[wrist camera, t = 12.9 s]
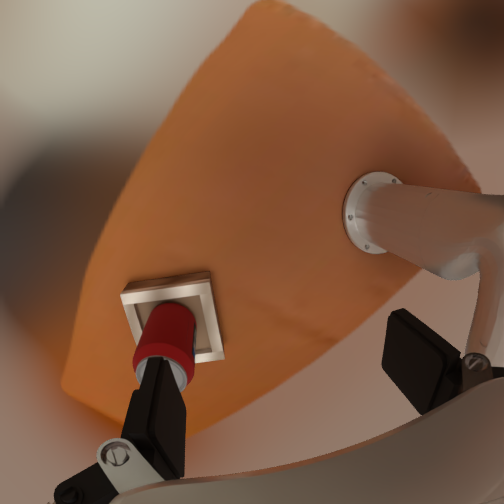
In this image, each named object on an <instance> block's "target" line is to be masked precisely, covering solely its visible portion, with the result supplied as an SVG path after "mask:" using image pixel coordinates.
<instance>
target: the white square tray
mask: <svg viewBox="0 0 504 504" xmlns="http://www.w3.org/2000/svg"><path fill="white" fill-rule="evenodd" d="M120 296H121V299H122V303H123V306H124V309H125V312H126V316H127V319H128V322H129V325H130V328H131V331H132V334H133V336H134V339H135V342H136V345H138V342H139V340H140V337H141V335H142V332H143V329H144V327H145V324H146V322H147V320H148V317H149V315H150V313H151V312H152V310H153V309H154V308H155V307H157V306H159V305H161V304H164V303H176V304H179V305H182V306H184V307H185V308H187V309H188V310H189V311H190V312H191V313H192V314H193V316H194V317H195V320H196V323H197V333H196V353H195V363H200V362H208V361H215V360H222V359H225V356H224V346H223V340H222V335H221V330H220V325H219V320H218V314H217V309H216V304H215V299H214V293H213V288H212V282H211V277H210V271H207V272H200V273H194V274H187V275H180V276H173V277H166V278H160V279H153V280H146V281H139V282H132V283H128V284H127V286H126V287H125V288H124V290H123V291H122V293H121V294H120Z"/></svg>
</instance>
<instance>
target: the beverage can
mask: <svg viewBox="0 0 504 504" xmlns="http://www.w3.org/2000/svg"><path fill="white" fill-rule="evenodd" d="M196 333H197V323H196V320H195V317H194V316H193V314H192V313H191V312H190V311H189V310H188V309H187V308H185V307H184V306H182V305H179V304H176V303H164V304H161V305H159V306H157V307H155V308H154V309H153V310H152V312H151V313H150V315H149V317H148V320H147V322H146V324H145V327H144V329H143V332H142V335H141V337H140V340H139V342H138V345H137V348H136V351H135V354H134V357H133V368H134V371H135V373H136V378H137V380H138V382H139V384H140V385H141V381H142V377H143V374H144V370H145V367H146V363H147V360H148V358H149V357H160V356H162V357H163V358H164V360H168V361H169V363H170V366H171V369H172V372H173V374H174V377H175V380H176V383H177V385H178V388H179V391H180V392H182V391H183V390H184V388H185V387H186V386H187V385H188V384H189V383H190V382H191V380H192V378H193V376H194V368H195V353H196Z"/></svg>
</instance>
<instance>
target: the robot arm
mask: <svg viewBox="0 0 504 504" xmlns="http://www.w3.org/2000/svg"><path fill="white" fill-rule="evenodd" d="M362 181H363V184H362ZM348 215H349V217H348ZM343 223H344V228H345V230H346V233H347V235H348V237H349V239H350V240H351V242H352V243H353V244H354V245H355V246H356V247H358V248H359V249H361V250H363V251H364V252H367V253H371V254H381V253H385V252H388V251H389V252H391V253H393V254H395V255H397V256H399V257H401V258H403V259H405V260H407V261H409V262H411V263H413V264H415V265H417V266H419V267H421V268H423V269H425V270H427V271H429V272H431V273H433V274H435V275H437V276H439V277H441V278H444V279H447V280H461V279H464V278H467V277H469V276H471V275H473V274H475V273H476V272H478V271H479V272H480V282H479V289H478V298H477V302H476V307H475V311H474V316H473V320H472V324H471V328H470V332H469V335H468V339H467V343H466V348H465V356H464V357H463V358H462V359H461V358H460V354H461V352H460V351H458V350H457V349H456V348H455V347H453V346H452V345H451V344H450V343H448V342H447V341H446V340H445V339H443V338H442V337H441V336H440V335H438V334H437V333H436V332H435V331H433V330H432V329H431V328H429V327H428V326H427V325H426V324H424V323H423V322H421V321H420V320H419V319H418V318H416V317H415V316H414V315H412V314H411V313H410V312H408V311H407V310H406V309H404V308H402V309H399V310H395V311H392V312H391V314H390V316H389V317H388V321H387V330H386V337H385V344H384V351H383V357H382V368H383V370H384V371H385V372H386V374H388V376H389V377H390V378H391V380H392V381H393V382H394V383H395V384H396V386H398V388H399V389H400V390H401V392H402V393H403V394H404V395H405V396H406V398H407V399H408V400H409V401H410V403H411V404H412V405H413V406H414V407H415V409H416V410H417V411H418V412H419V414H421V415H422V416H420V417H418V418H416V419H414V420H412V421H410V422H408V423H406V424H404V425H402V426H399V427H397V428H395V429H393V430H390V431H388V432H386V433H384V434H381V435H379V436H376V437H374V438H371V439H369V440H366V441H364V442H361V443H358V444H355V445H353V446H350V447H347V448H344V449H341V450H338V451H335V452H331V453H328V454H325V455H322V456H318V457H314V458H311V459H307V460H303V461H299V462H295V463H291V464H287V465H282V466H277V467H272V468H267V469H261V470H255V471H249V472H242V473H235V474H228V475H219V476H209V477H198V478H187V479H180V477H184V467H185V465H184V464H185V433H186V407H185V404H184V401H183V398H182V396H181V393H180V391H179V388H178V385H177V383H176V380H175V377H174V374H173V372H172V369H171V366H170V363H169V361H168V360H164V358H163V357H162V356H160V357H149V358H148V360H147V363H146V367H145V370H144V374H143V377H142V381H141V385H140V388H139V390H134V391H133V393H132V397H131V400H130V404H129V407H128V411H127V415H126V418H125V422H124V426H123V430H122V434H121V438H115V439H110V440H108V441H106V442H104V443H103V444H102V445H101V446H100V447H99V448H98V451H97V460H98V462H97V463H95V464H94V465H92V466H90V467H88V468H87V469H85V470H83V471H81V472H80V473H78V474H76V475H74V476H72V477H71V478H69V479H67V480H65V481H63V482H62V483H60V484H59V485H58V486H57V488H56V489H55V492H54V500H55V501H54V502H53V503H52V504H504V195H488V194H478V193H469V192H462V191H455V190H446V189H439V188H432V187H424V186H415V185H406V184H403V183H402V182H401V181H400V180H399V179H398V178H397V177H395V176H393V175H392V174H389V173H386V172H371V173H367V174H365V175H363V176H361V177H360V178H359V179H357V180H356V181H355V182H354V184H353V185H352V186H351V187H350V189H349V191H348V193H347V195H346V198H345V201H344V206H343ZM47 504H51V503H49V502H48V503H47Z"/></svg>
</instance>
